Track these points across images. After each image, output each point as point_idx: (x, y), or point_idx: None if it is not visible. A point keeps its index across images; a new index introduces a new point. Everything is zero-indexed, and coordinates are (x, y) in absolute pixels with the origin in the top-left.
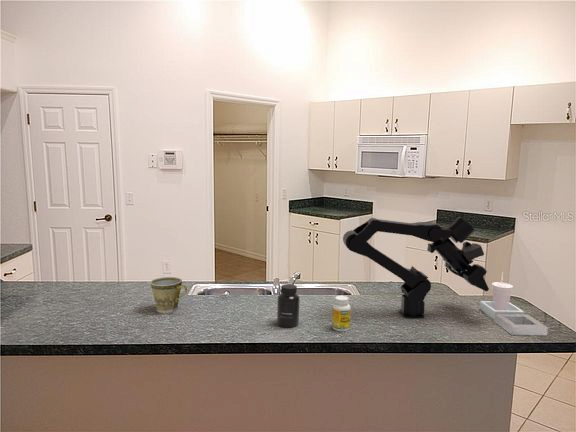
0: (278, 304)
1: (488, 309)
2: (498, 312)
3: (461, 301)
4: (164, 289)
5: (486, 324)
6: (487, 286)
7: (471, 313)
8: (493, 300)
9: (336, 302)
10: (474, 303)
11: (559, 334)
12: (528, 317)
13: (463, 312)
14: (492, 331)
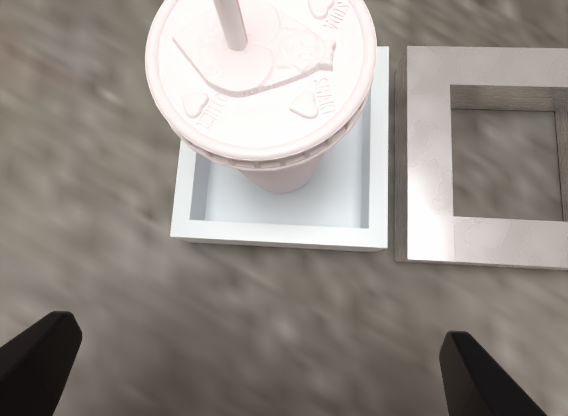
0: None
1: (300, 244)
2: (386, 218)
3: (33, 286)
4: None
5: (444, 338)
6: (512, 383)
7: (253, 335)
8: (262, 181)
9: None
10: (80, 217)
11: (564, 6)
12: (465, 68)
13: (233, 384)
14: (560, 363)
